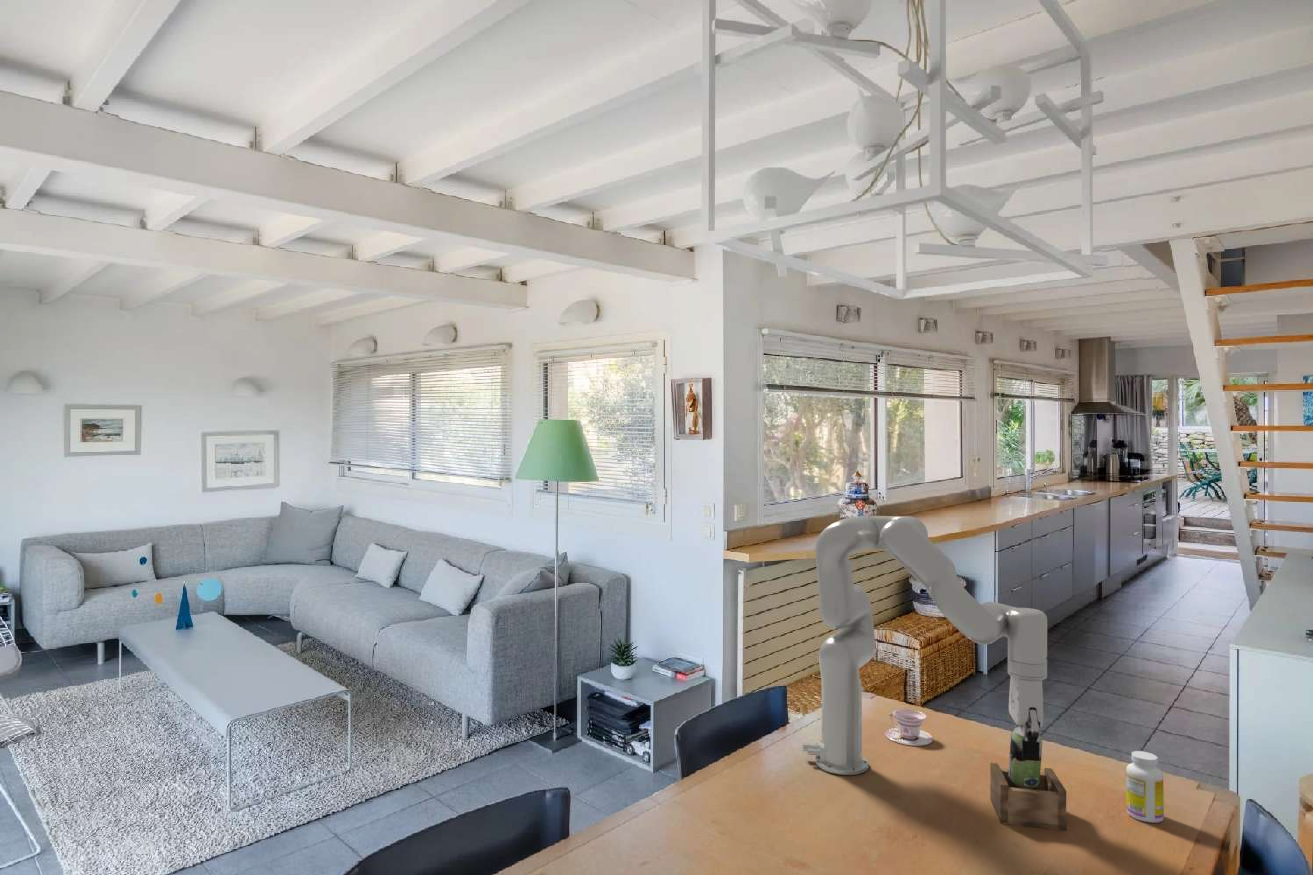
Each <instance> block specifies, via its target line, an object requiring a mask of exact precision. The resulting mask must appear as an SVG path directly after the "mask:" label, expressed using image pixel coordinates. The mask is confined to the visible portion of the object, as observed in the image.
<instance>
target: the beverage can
mask: <svg viewBox="0 0 1313 875" xmlns="http://www.w3.org/2000/svg"><path fill="white" fill-rule="evenodd" d="M1015 727H1016V726H1015ZM1015 727H1014V729H1013V731H1012V732H1011V734H1010V742H1009V743H1010V746H1009V762H1008V769H1009V773H1008V777H1009V779H1010V780H1011V781H1012V782H1013V783H1014V784H1015V785H1017V786H1019V787H1022V788H1027V789H1030V788H1034V787H1037V786H1038V785H1039V784H1040V772H1041V770H1042V769H1041V768H1042V767H1041V766H1042V754H1043V739H1042V737H1041V733H1040V732H1039V742H1040V750H1039V761H1032V760H1024V759H1023V758H1022V739H1023V740H1024V734H1023V726H1018V727H1016V728H1015ZM1029 731H1031V730H1030V729H1028V728H1027V734H1028V732H1029Z"/></svg>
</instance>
